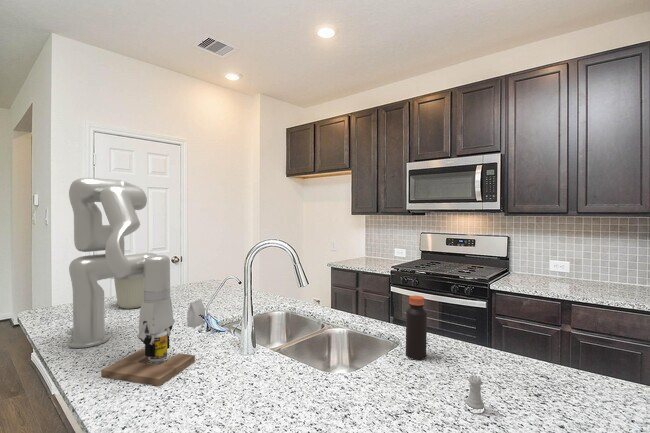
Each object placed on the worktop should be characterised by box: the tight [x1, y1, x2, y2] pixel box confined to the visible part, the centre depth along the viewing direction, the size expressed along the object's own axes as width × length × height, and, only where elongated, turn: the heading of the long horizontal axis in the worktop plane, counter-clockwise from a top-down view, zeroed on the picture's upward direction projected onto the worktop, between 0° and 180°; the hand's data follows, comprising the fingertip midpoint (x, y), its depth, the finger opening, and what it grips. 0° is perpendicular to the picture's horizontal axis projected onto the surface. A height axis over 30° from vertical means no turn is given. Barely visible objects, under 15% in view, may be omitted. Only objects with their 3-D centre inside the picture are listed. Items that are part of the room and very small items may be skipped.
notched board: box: [100, 348, 196, 387], centre depth 106 cm, size 20×16×2 cm
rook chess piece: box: [465, 374, 485, 409], centre depth 86 cm, size 4×4×8 cm
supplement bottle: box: [148, 329, 168, 362], centre depth 109 cm, size 6×6×10 cm
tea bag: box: [186, 298, 206, 328], centre depth 146 cm, size 4×7×10 cm, turn 164°
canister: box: [113, 277, 144, 310], centre depth 172 cm, size 18×18×21 cm
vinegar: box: [405, 294, 428, 360], centre depth 116 cm, size 7×7×20 cm
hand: (157, 351), depth 109 cm, fingers closed on supplement bottle, 5 cm apart
